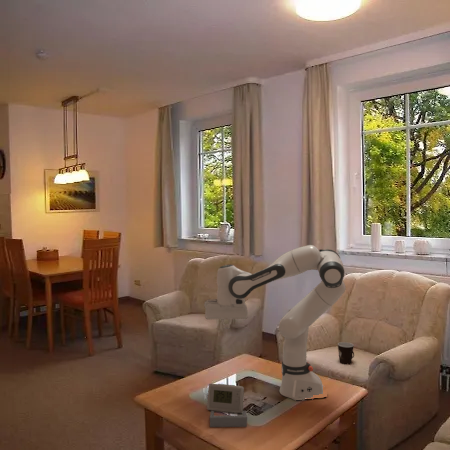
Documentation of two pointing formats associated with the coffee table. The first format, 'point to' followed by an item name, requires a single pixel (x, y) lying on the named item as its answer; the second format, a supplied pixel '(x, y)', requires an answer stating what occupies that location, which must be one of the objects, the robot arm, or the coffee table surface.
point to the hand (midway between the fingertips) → (226, 328)
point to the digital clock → (225, 398)
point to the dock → (228, 420)
